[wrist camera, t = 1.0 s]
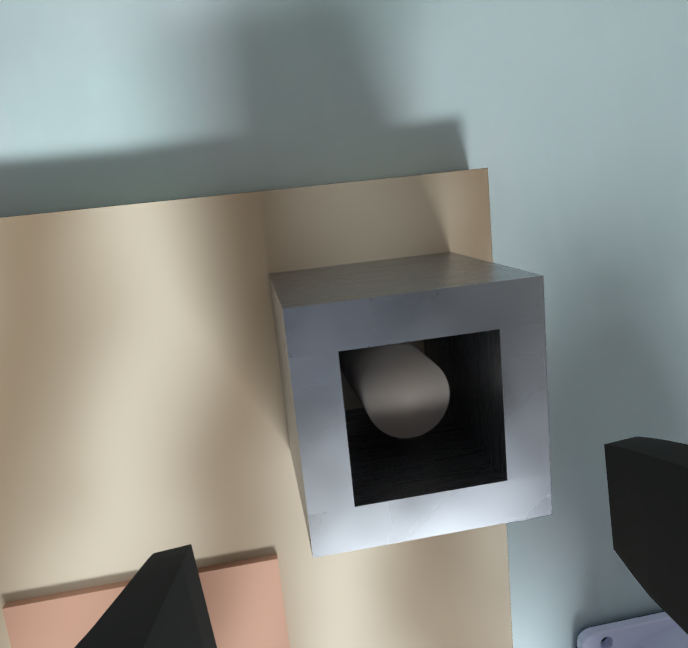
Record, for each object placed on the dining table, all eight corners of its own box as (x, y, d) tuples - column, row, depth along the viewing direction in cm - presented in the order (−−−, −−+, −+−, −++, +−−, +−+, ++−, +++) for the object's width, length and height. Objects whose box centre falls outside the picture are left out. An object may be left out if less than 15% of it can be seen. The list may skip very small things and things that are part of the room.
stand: (469, 170, 20) (563, 159, 14) (501, 711, 24) (583, 871, 19) (-77, 226, 18) (-226, 239, 12) (60, 809, 22) (-2, 1026, 16)
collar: (450, 251, 19) (543, 275, 13) (461, 423, 20) (551, 514, 14) (268, 273, 18) (282, 308, 13) (290, 450, 20) (313, 558, 14)
